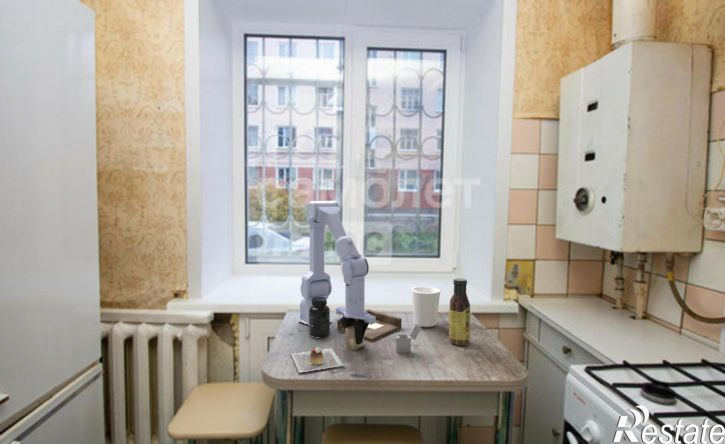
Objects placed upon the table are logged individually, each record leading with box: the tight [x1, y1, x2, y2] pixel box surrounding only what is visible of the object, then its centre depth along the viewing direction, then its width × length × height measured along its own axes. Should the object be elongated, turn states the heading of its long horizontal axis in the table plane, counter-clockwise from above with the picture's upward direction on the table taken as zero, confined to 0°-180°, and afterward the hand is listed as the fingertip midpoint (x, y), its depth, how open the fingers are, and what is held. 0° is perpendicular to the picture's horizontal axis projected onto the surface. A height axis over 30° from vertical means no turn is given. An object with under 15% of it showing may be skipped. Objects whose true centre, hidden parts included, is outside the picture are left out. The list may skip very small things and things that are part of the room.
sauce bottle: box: [448, 277, 471, 347], centre depth 118 cm, size 6×6×20 cm
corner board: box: [336, 308, 403, 343], centre depth 130 cm, size 15×16×4 cm
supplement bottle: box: [308, 297, 331, 338], centre depth 125 cm, size 7×7×12 cm
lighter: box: [395, 324, 422, 354], centre depth 112 cm, size 7×2×8 cm, turn 91°
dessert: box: [291, 346, 344, 374], centre depth 105 cm, size 12×12×5 cm
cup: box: [411, 285, 441, 330], centre depth 134 cm, size 10×10×13 cm
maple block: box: [345, 326, 365, 351], centre depth 115 cm, size 3×5×6 cm, turn 139°
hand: (354, 341), depth 116 cm, fingers closed on maple block, 3 cm apart
